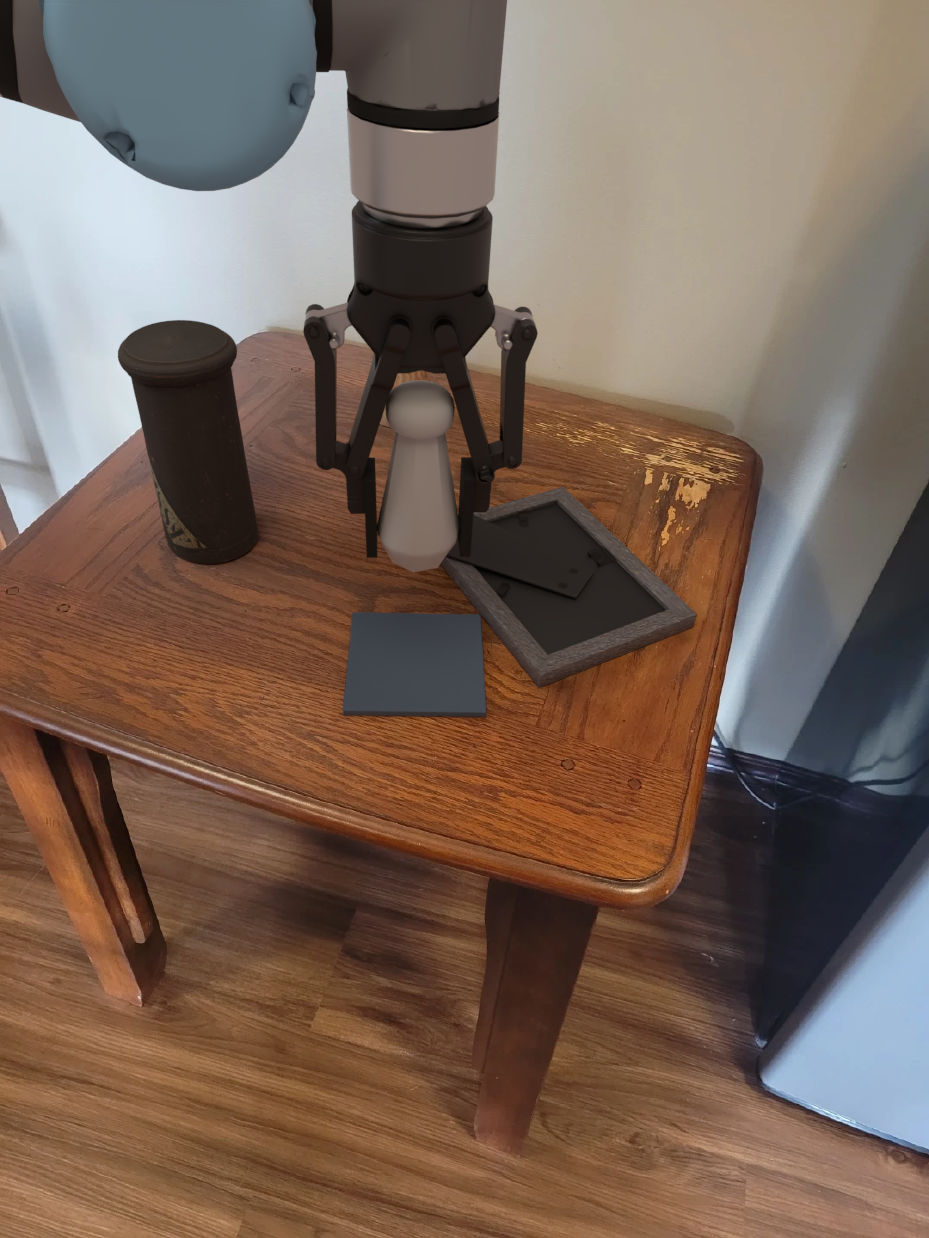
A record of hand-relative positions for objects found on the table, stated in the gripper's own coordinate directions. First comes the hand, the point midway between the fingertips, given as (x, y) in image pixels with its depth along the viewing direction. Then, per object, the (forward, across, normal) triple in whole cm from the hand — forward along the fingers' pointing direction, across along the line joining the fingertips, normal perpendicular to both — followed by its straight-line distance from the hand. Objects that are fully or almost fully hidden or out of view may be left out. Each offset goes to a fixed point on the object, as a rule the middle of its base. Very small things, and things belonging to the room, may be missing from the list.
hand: (418, 544), depth 61 cm
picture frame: (+13, -13, -10) cm, 20 cm away
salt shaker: (+1, 0, 0) cm, 1 cm away
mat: (+12, 0, 0) cm, 12 cm away
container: (+13, +18, -17) cm, 28 cm away
